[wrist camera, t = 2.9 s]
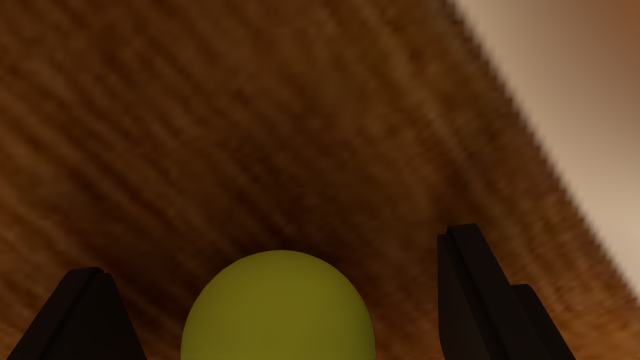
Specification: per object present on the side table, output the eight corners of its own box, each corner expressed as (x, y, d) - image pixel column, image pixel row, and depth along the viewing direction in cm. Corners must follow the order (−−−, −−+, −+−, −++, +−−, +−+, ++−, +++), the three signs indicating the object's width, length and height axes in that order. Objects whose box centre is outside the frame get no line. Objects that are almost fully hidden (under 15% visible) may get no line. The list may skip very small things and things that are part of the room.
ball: (183, 225, 10) (124, 367, 7) (357, 205, 10) (380, 339, 7) (221, 350, 12) (189, 509, 9) (371, 334, 12) (394, 490, 8)
